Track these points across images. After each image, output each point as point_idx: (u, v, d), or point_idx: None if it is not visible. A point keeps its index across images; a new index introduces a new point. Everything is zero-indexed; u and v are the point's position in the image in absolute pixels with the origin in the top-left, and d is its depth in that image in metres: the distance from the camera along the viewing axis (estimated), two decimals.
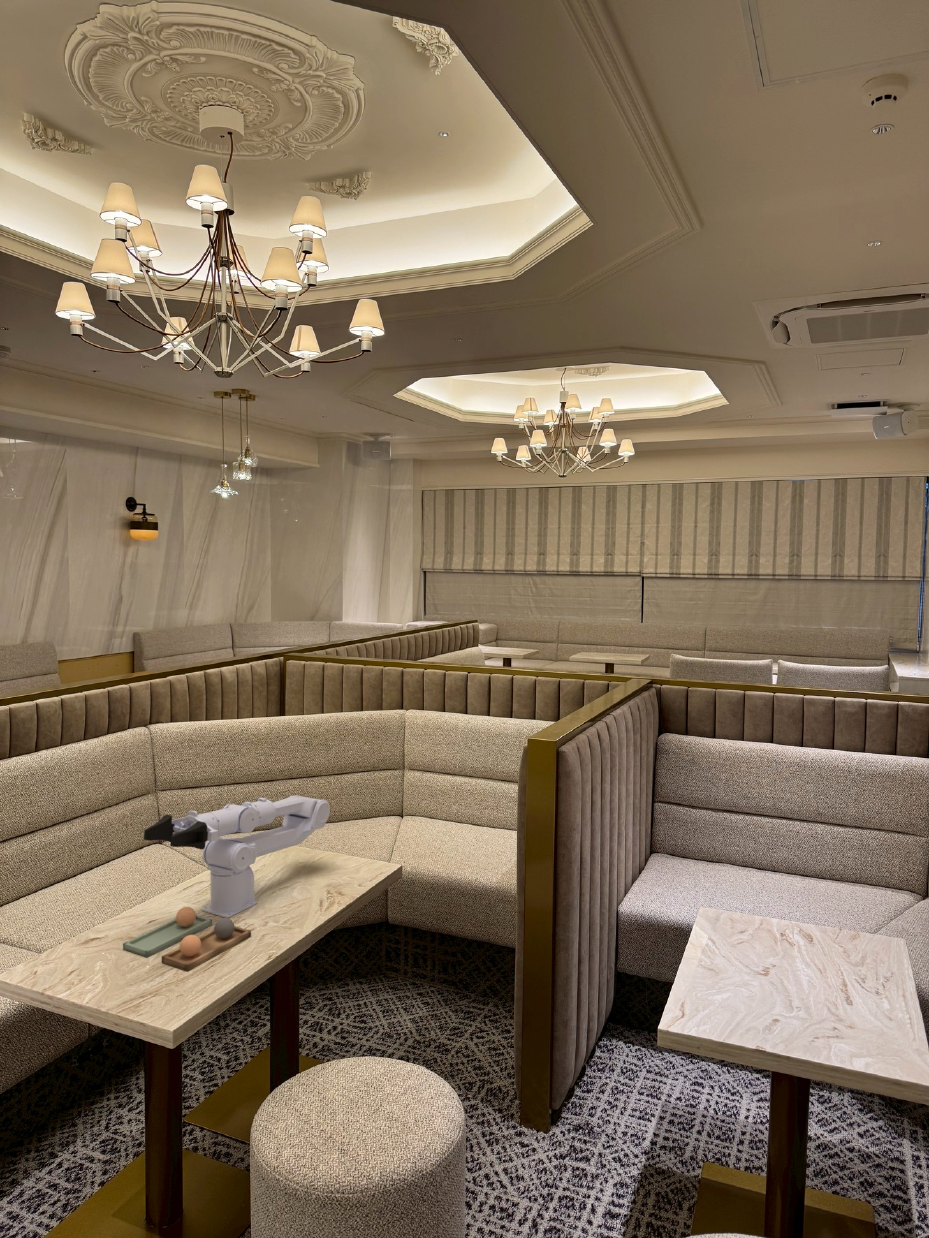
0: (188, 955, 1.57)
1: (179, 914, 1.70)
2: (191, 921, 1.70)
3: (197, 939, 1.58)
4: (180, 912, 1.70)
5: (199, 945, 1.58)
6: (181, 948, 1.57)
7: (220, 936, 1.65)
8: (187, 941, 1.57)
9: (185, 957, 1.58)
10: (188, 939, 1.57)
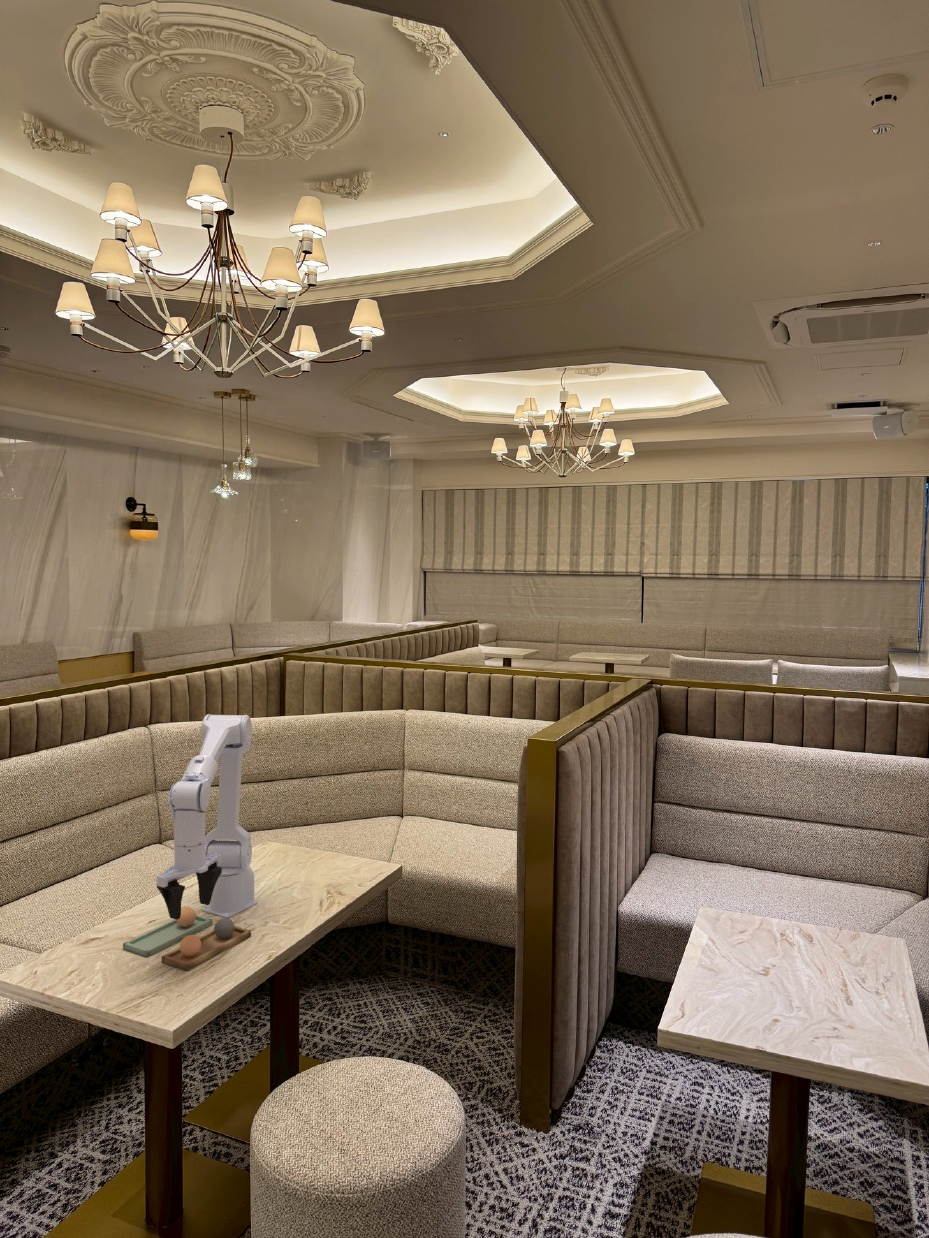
0: (188, 955, 1.57)
1: None
2: (191, 921, 1.70)
3: (197, 939, 1.58)
4: None
5: (199, 945, 1.58)
6: (181, 948, 1.57)
7: (220, 936, 1.65)
8: (187, 941, 1.57)
9: (185, 957, 1.58)
10: (188, 939, 1.57)
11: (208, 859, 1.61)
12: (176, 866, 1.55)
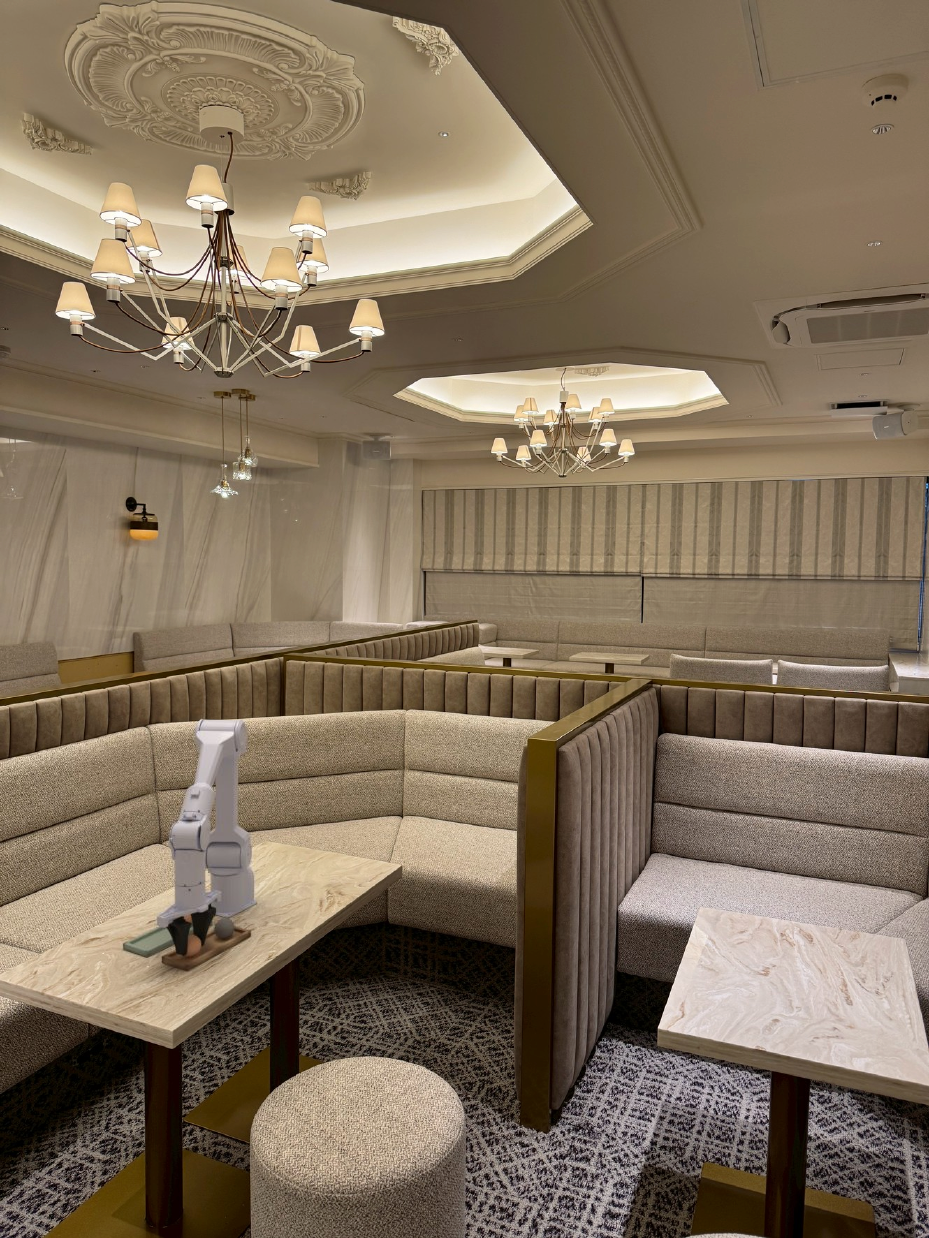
0: (188, 955, 1.57)
1: None
2: (191, 921, 1.70)
3: (197, 939, 1.58)
4: None
5: (199, 945, 1.58)
6: None
7: (220, 936, 1.65)
8: None
9: (185, 957, 1.58)
10: (188, 939, 1.57)
11: (208, 897, 1.62)
12: (176, 905, 1.56)
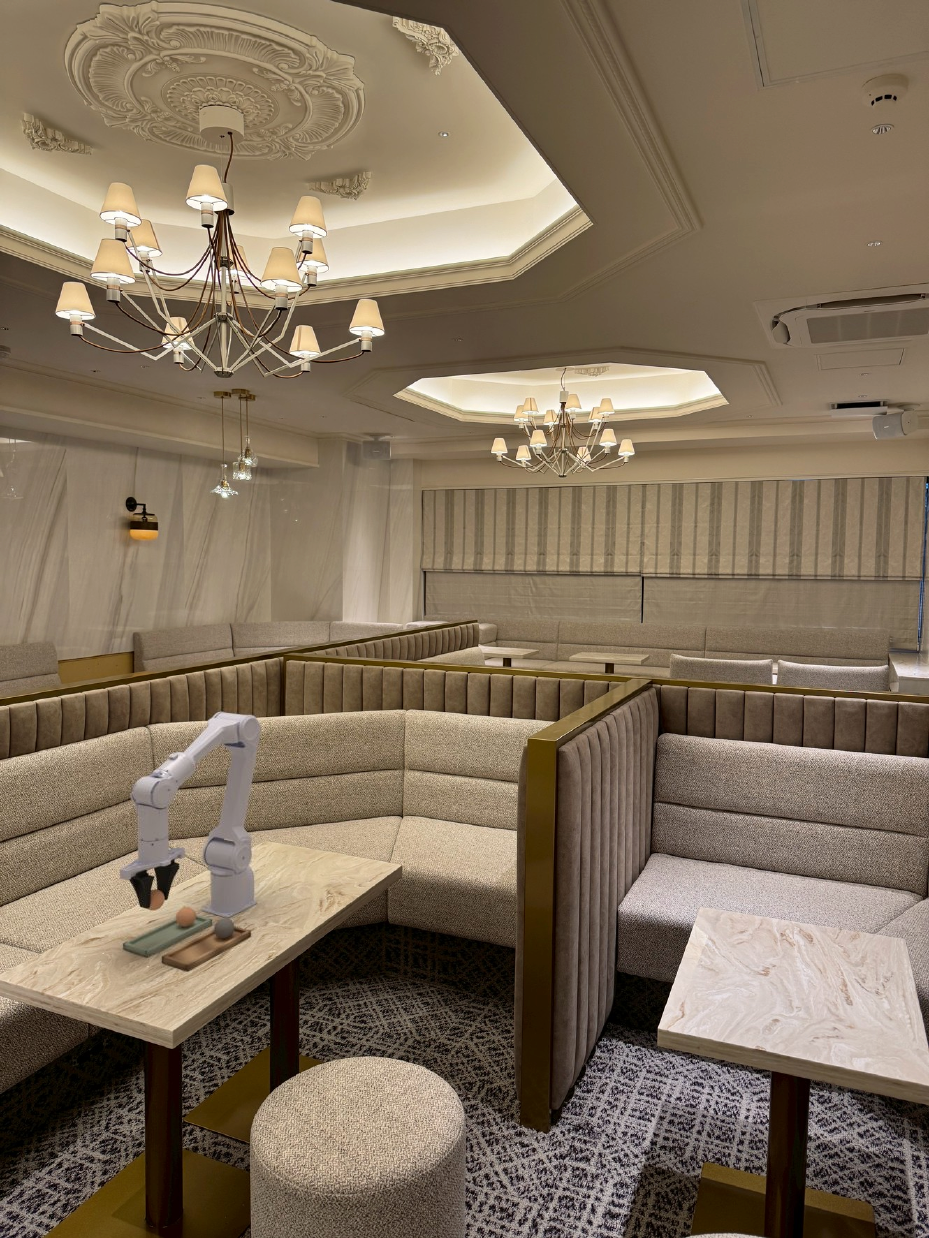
0: (151, 908, 1.61)
1: (179, 914, 1.70)
2: (191, 921, 1.70)
3: (160, 893, 1.63)
4: (180, 912, 1.70)
5: (162, 899, 1.62)
6: None
7: (220, 936, 1.65)
8: None
9: (185, 957, 1.58)
10: (151, 893, 1.62)
11: (172, 853, 1.66)
12: (140, 860, 1.60)
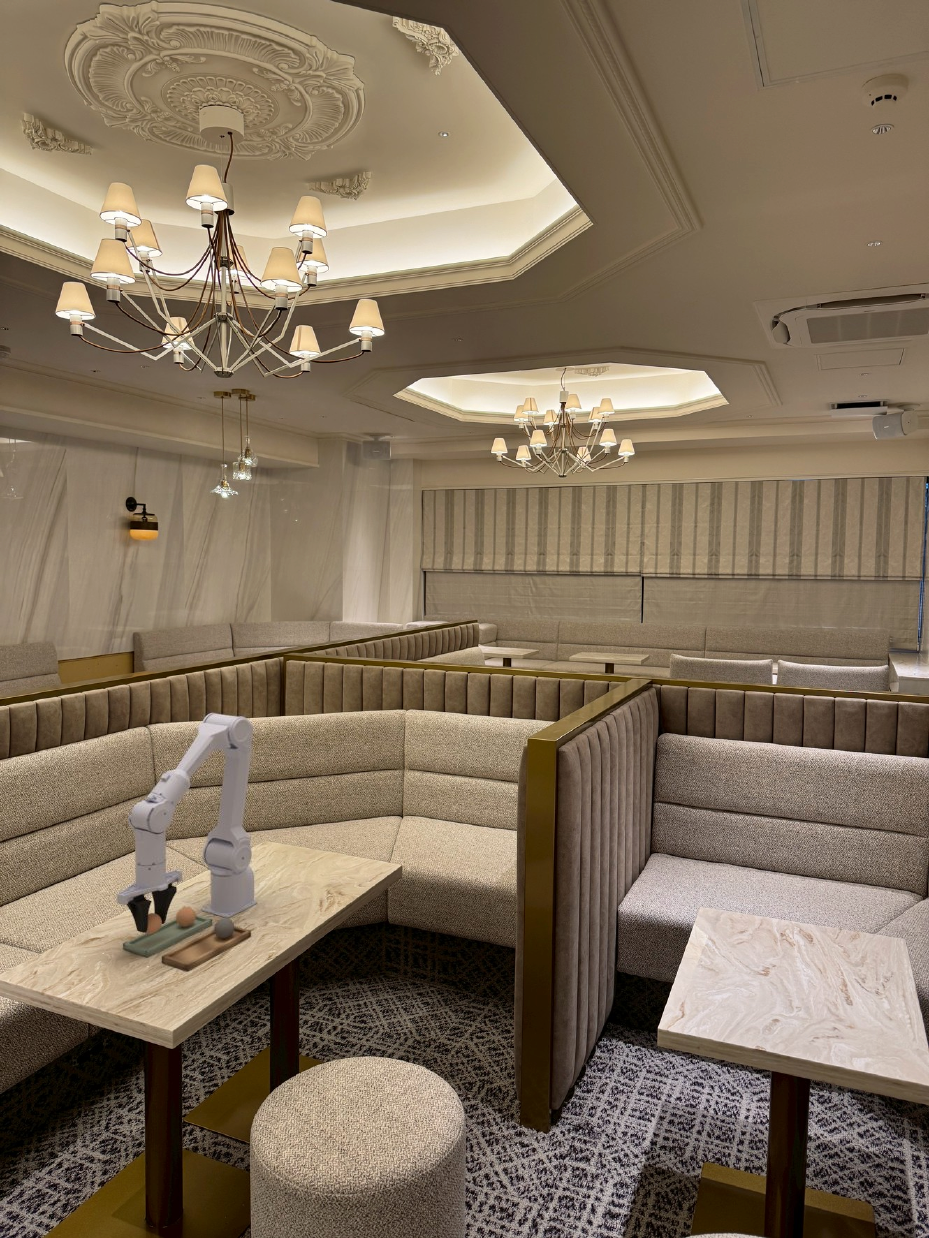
0: (148, 932, 1.62)
1: (179, 914, 1.70)
2: (191, 921, 1.70)
3: (158, 917, 1.63)
4: (180, 912, 1.70)
5: (159, 923, 1.63)
6: None
7: (220, 936, 1.65)
8: (148, 919, 1.62)
9: (185, 957, 1.58)
10: (148, 917, 1.62)
11: (169, 876, 1.67)
12: (137, 884, 1.61)
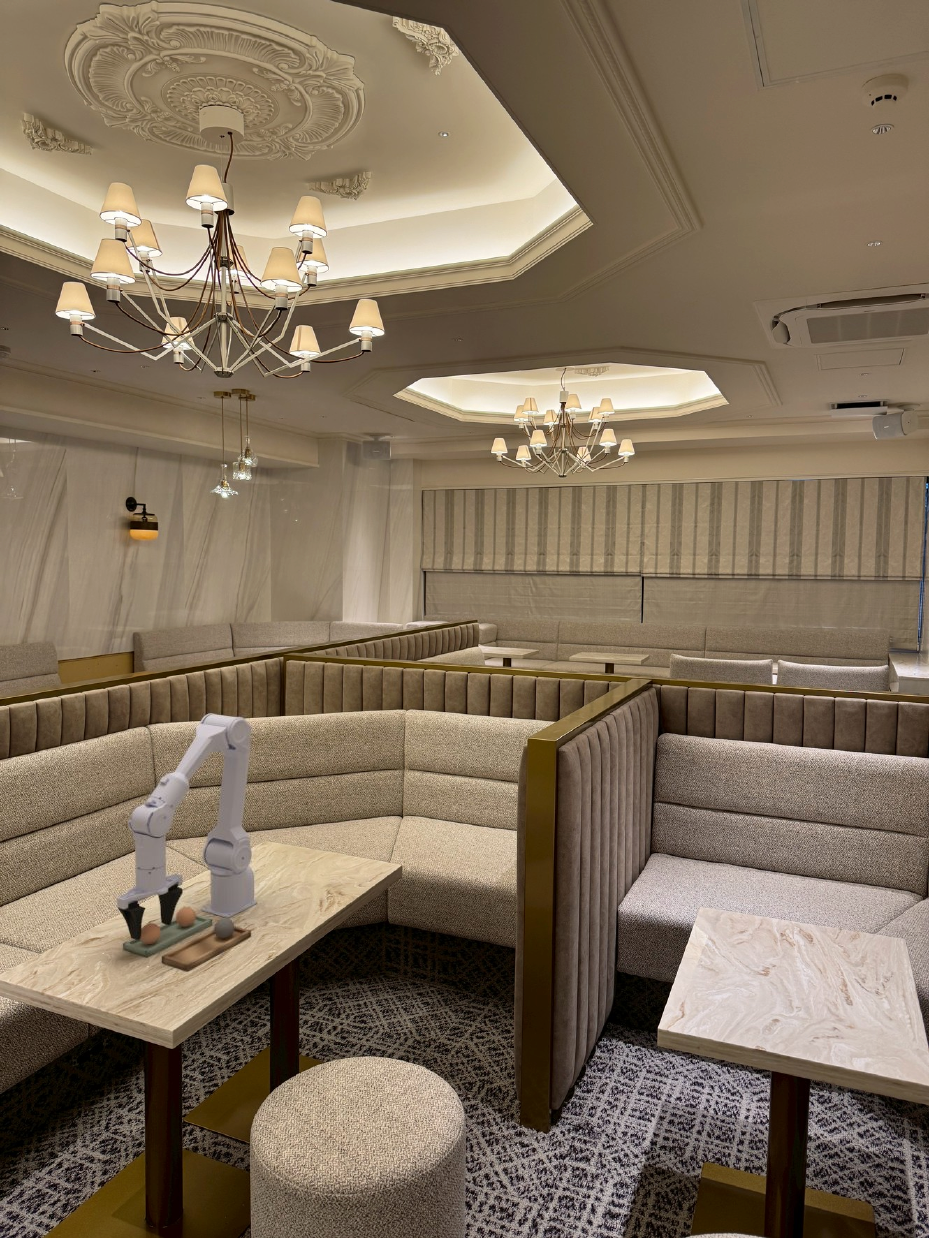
0: (148, 943, 1.62)
1: (179, 914, 1.70)
2: (191, 921, 1.70)
3: (156, 927, 1.63)
4: (180, 912, 1.70)
5: (158, 933, 1.63)
6: (141, 937, 1.62)
7: (220, 936, 1.65)
8: (146, 931, 1.62)
9: (185, 957, 1.58)
10: (146, 929, 1.62)
11: (169, 880, 1.67)
12: (137, 888, 1.61)
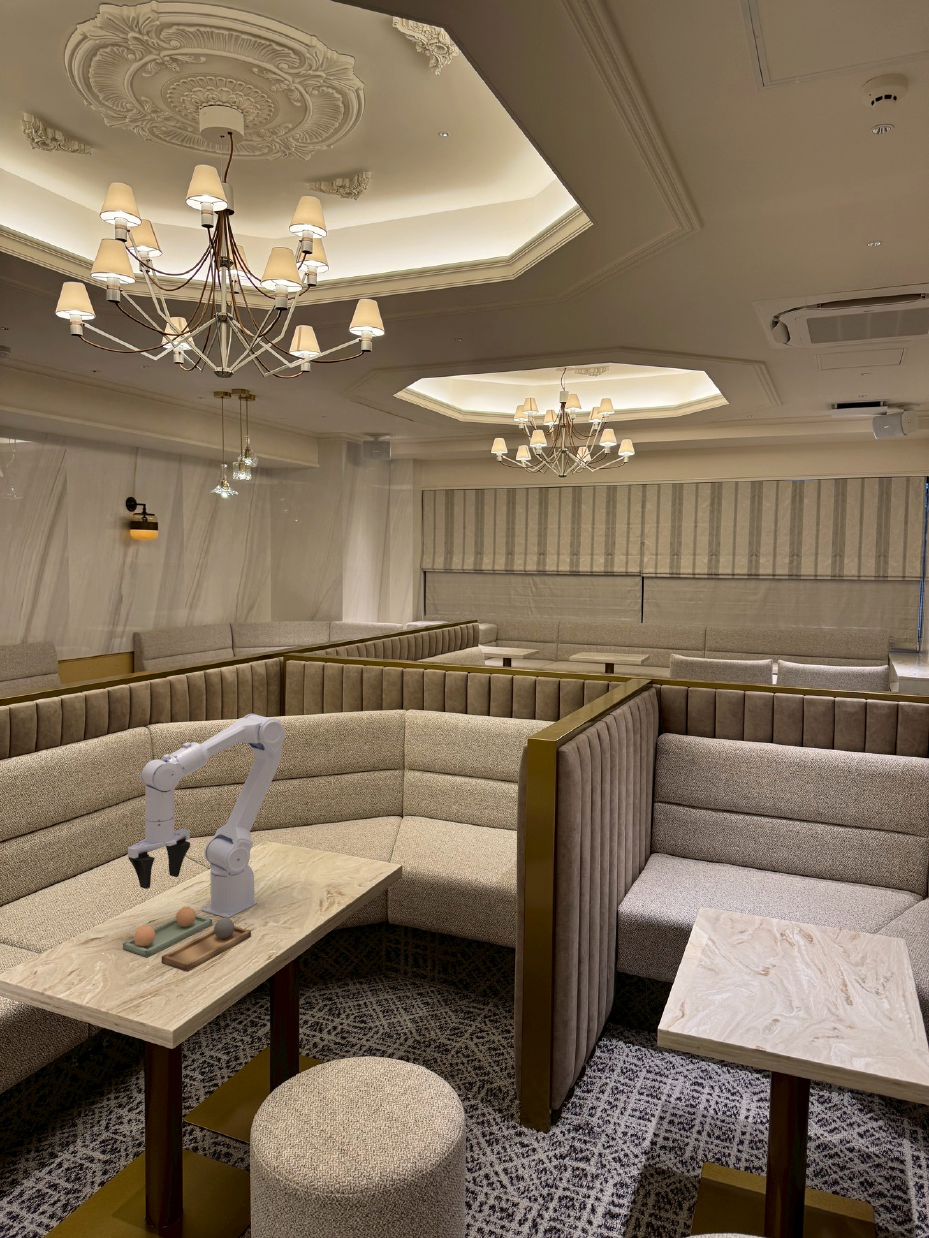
0: (147, 945, 1.62)
1: (179, 914, 1.70)
2: (191, 921, 1.70)
3: (146, 932, 1.61)
4: (180, 912, 1.70)
5: (151, 935, 1.61)
6: None
7: (220, 936, 1.65)
8: (138, 940, 1.60)
9: (185, 957, 1.58)
10: (138, 938, 1.60)
11: (177, 834, 1.73)
12: (147, 839, 1.67)
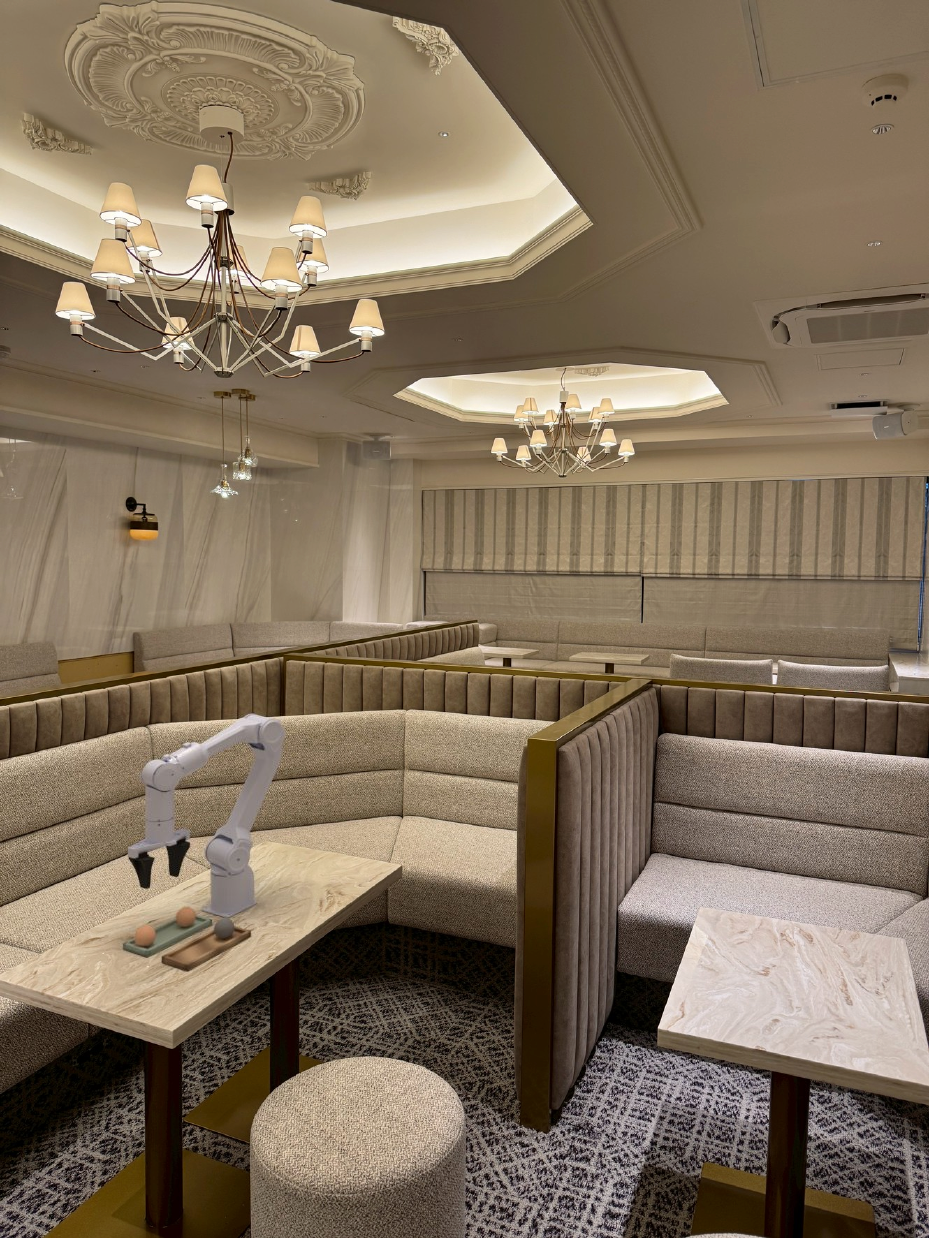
0: (147, 945, 1.62)
1: (179, 914, 1.70)
2: (191, 921, 1.70)
3: (147, 932, 1.61)
4: (180, 912, 1.70)
5: (152, 935, 1.61)
6: (137, 944, 1.61)
7: (220, 936, 1.65)
8: (139, 940, 1.60)
9: (185, 957, 1.58)
10: (138, 938, 1.60)
11: (177, 834, 1.73)
12: (147, 839, 1.67)
